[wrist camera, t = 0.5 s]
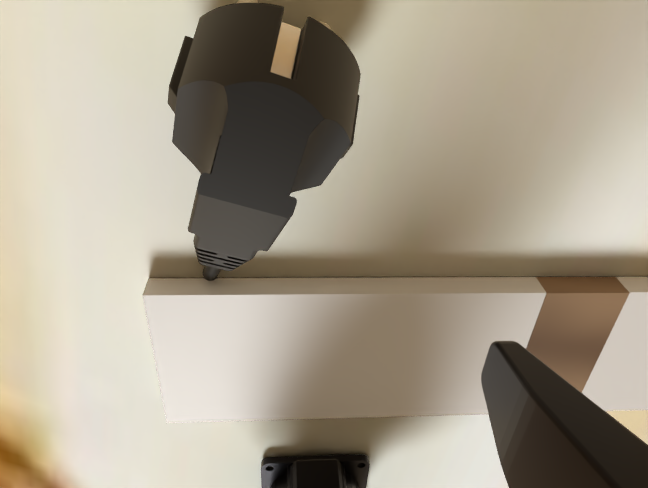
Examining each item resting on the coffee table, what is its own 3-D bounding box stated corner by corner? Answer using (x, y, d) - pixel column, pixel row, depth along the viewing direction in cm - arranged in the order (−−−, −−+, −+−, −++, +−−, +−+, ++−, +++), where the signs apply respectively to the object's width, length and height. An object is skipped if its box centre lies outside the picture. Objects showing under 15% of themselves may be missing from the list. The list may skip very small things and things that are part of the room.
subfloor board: (660, 392, 30) (673, 409, 29) (170, 404, 28) (166, 423, 27) (730, 276, 25) (749, 292, 24) (148, 278, 23) (142, 295, 22)
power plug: (140, 276, 22) (139, 127, 11) (183, 130, 25) (215, -98, 14) (267, 304, 23) (374, 196, 13) (294, 163, 26) (399, -23, 16)
